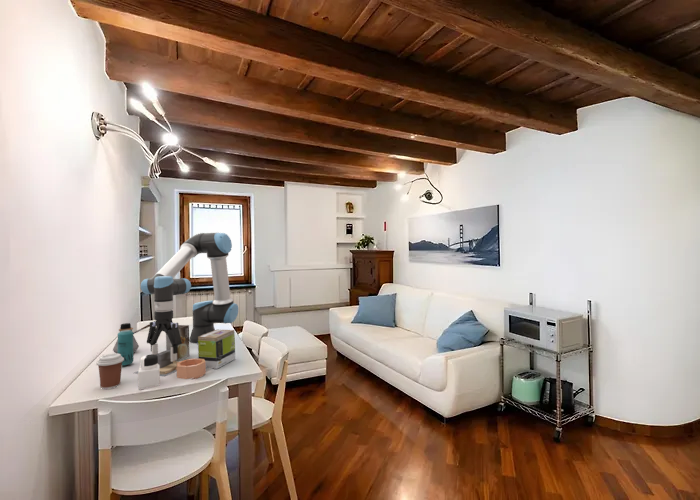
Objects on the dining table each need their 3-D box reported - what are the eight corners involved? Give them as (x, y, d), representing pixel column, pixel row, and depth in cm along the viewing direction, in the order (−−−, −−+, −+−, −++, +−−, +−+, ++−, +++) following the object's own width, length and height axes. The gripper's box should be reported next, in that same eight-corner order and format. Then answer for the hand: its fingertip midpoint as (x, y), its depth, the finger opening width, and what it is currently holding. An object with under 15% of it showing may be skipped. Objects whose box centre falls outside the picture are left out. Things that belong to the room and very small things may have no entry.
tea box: (218, 358, 173) (218, 328, 173) (235, 359, 170) (235, 329, 170) (197, 368, 158) (197, 335, 158) (216, 369, 156) (216, 337, 156)
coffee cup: (125, 386, 137) (125, 356, 137) (97, 392, 131) (96, 361, 131) (122, 379, 144) (122, 351, 144) (95, 385, 138) (95, 355, 138)
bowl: (189, 369, 156) (189, 357, 156) (210, 371, 153) (210, 359, 153) (170, 378, 145) (170, 365, 145) (192, 381, 142) (192, 367, 142)
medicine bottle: (159, 381, 142) (159, 352, 142) (159, 387, 136) (159, 356, 136) (139, 384, 139) (139, 354, 139) (138, 390, 133) (138, 359, 133)
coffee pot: (114, 357, 174) (114, 328, 174) (111, 352, 183) (111, 324, 183) (161, 349, 188) (161, 322, 188) (156, 345, 197) (156, 319, 197)
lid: (163, 362, 164) (163, 347, 164) (186, 364, 161) (186, 349, 161) (140, 371, 152) (140, 355, 152) (164, 374, 148) (164, 357, 148)
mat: (163, 362, 167) (163, 360, 167) (193, 365, 162) (193, 363, 162) (132, 374, 150) (132, 373, 150) (164, 377, 146) (164, 376, 146)
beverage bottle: (119, 365, 163) (118, 322, 163) (135, 363, 165) (135, 321, 165) (115, 369, 157) (115, 325, 157) (132, 367, 159) (132, 324, 159)
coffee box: (178, 356, 176) (178, 324, 176) (189, 356, 175) (189, 325, 175) (165, 361, 167) (165, 328, 167) (177, 362, 166) (177, 329, 166)
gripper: (136, 310, 156) (137, 360, 156) (178, 312, 150) (178, 364, 150) (150, 308, 163) (151, 355, 163) (190, 309, 157) (190, 359, 157)
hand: (164, 359), depth 156 cm, fingers open, 10 cm apart
